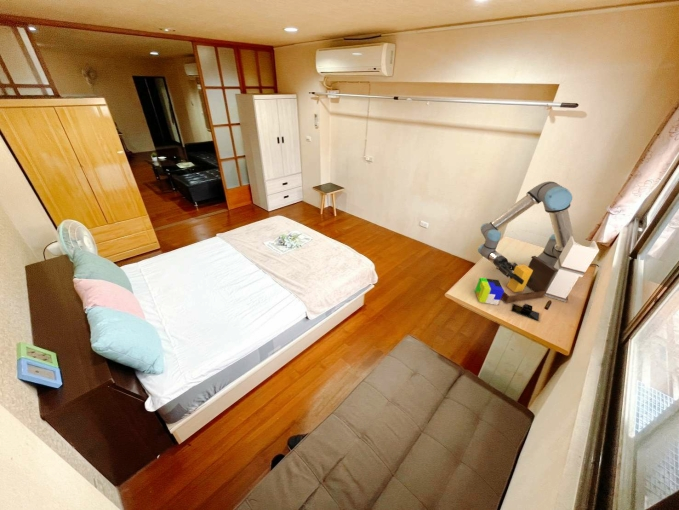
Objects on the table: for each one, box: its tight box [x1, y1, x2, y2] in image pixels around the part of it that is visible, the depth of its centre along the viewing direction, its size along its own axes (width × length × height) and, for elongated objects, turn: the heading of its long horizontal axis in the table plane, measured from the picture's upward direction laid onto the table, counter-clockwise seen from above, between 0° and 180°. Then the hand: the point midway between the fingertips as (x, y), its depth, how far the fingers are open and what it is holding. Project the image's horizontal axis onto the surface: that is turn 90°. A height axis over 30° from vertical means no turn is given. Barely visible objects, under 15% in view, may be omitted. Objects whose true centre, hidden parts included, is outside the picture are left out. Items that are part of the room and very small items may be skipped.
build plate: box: [511, 303, 540, 322], centre depth 143 cm, size 12×7×5 cm, turn 54°
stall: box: [500, 255, 559, 304], centre depth 154 cm, size 27×16×19 cm, turn 103°
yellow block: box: [506, 264, 533, 293], centre depth 154 cm, size 6×6×15 cm
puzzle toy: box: [474, 277, 505, 306], centre depth 151 cm, size 10×10×10 cm
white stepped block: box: [544, 236, 600, 303], centre depth 149 cm, size 11×11×35 cm
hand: (527, 281), depth 149 cm, fingers closed on yellow block, 6 cm apart
